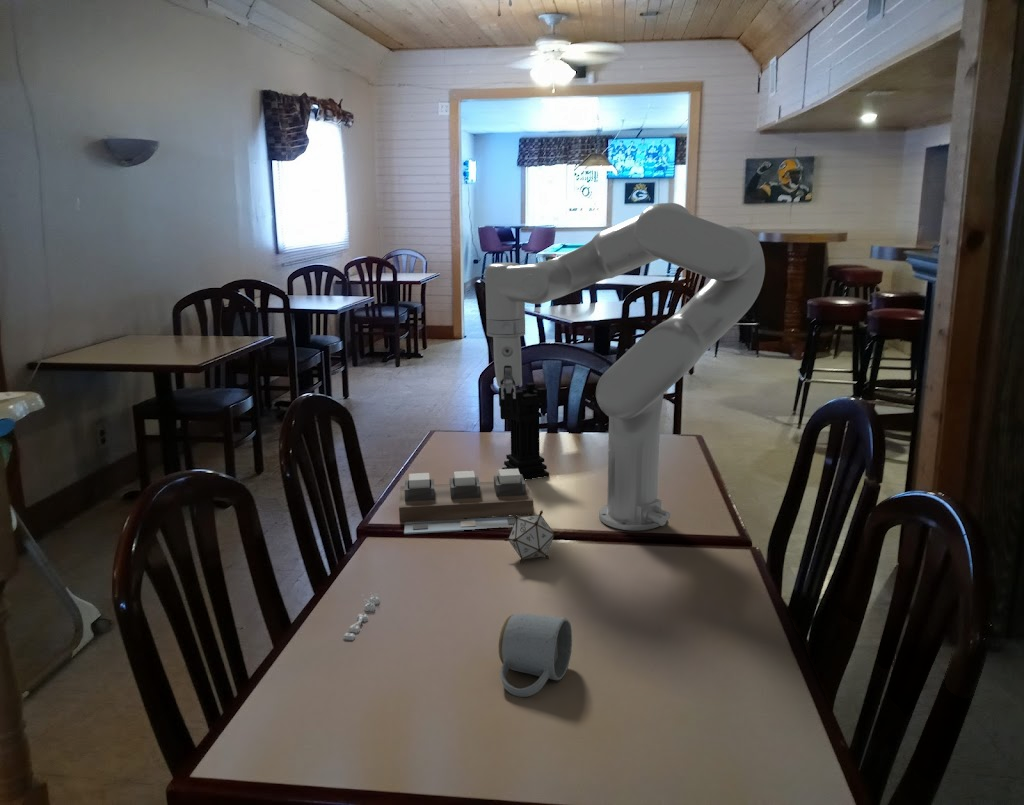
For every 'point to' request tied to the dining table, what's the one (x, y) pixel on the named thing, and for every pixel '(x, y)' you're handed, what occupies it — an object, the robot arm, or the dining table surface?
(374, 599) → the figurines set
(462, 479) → the button middle
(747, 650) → the dining table surface
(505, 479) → the button
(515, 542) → the game die
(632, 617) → the dining table surface
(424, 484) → the button
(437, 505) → the board
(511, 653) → the ceramic mug
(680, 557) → the dining table surface
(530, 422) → the chess piece
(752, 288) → the robot arm
